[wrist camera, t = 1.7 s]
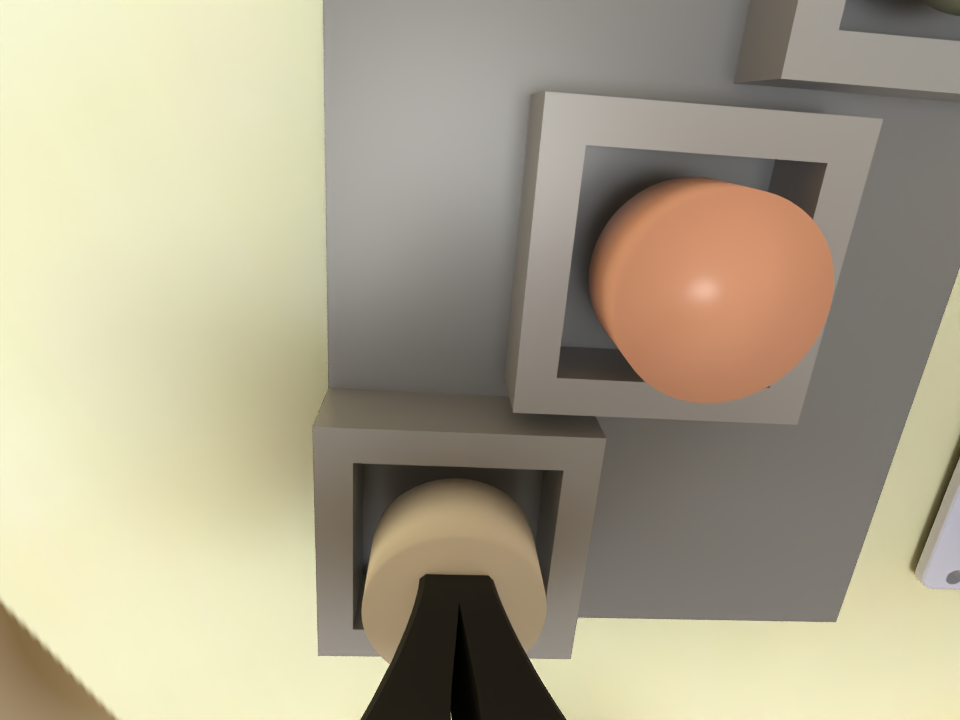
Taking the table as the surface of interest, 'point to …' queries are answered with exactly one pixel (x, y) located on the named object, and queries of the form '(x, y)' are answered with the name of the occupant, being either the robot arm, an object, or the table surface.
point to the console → (566, 301)
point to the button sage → (945, 6)
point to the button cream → (451, 556)
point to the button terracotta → (711, 287)
